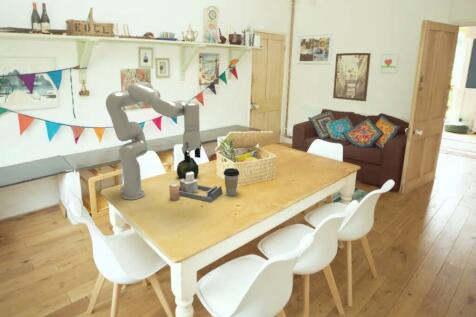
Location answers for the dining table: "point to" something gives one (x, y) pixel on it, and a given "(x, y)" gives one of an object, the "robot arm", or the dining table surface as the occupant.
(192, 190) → the container
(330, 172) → the dining table surface
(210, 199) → the tray
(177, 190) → the jar
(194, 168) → the squash
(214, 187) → the pusher
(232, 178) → the coffee cup
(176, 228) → the dining table surface
